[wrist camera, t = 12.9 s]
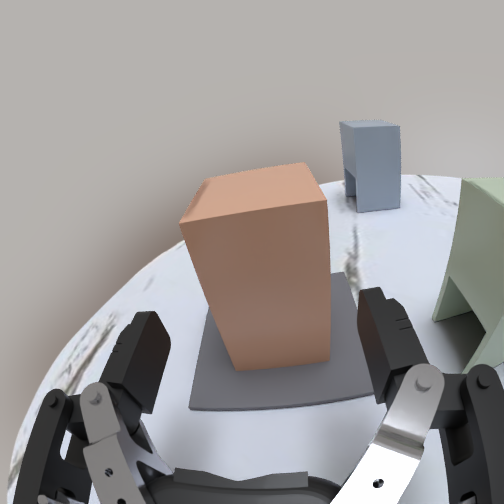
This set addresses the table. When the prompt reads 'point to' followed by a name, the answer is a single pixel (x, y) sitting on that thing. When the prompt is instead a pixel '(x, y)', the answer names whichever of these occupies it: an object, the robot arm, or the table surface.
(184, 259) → the table surface
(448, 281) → the block
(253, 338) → the hood terracotta
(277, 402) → the mat
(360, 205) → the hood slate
